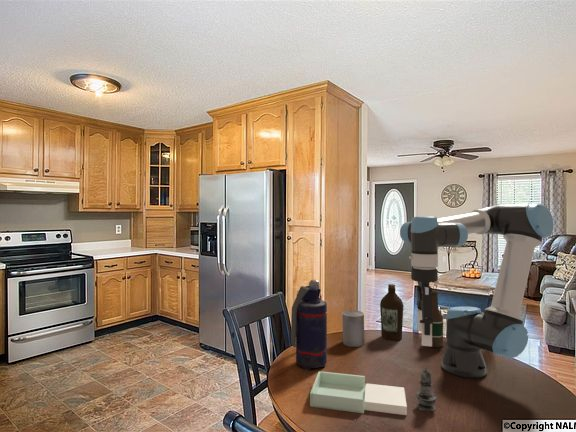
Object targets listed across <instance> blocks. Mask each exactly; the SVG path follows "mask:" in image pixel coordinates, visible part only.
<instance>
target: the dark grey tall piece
mask: <svg viewBox="0 0 576 432" xmlns="http://www.w3.org/2000/svg"><path fill="white" fill-rule="evenodd" d="M420 379H421V380H420V381H419V384H420V389H419V391H417V392H415V395H416V399H417V402H418V403H417V405H416V408H418V410H420V411H422V412H426V413H432V412H433V413H434V412H435V411H437V410H436V409H437V408H436V406H435V403H436V400H437V397H438V396H437V395H436V394H435V393H433V391H432V385H433V382H432V372H431V371H429V370H428V367H425V368H424V369H423V370H421V374H420Z"/></svg>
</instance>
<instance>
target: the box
mask: <svg viewBox="0 0 576 432" xmlns="http://www.w3.org/2000/svg"><path fill="white" fill-rule="evenodd" d="M365 382H366V377H365V375H357V374H351V373H350V374H349V373H341V372H340V373H339V372H330V371H320V370H319V371H318V372H317V375H316V377H315V381H314V382H313V385H312V388H311V390H310V393H309V398H310V399H309V407H311V408H320V409H326V410H335V411H341V412H342V411H343V412H350V413H358V414H365V410H364V401H365V388H366V383H365Z"/></svg>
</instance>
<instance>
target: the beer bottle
mask: <svg viewBox="0 0 576 432" xmlns="http://www.w3.org/2000/svg"><path fill="white" fill-rule="evenodd" d="M438 296H439V291H437V290H435V289H432V314H433V323H432V346H430V347H431V348H441V347H443V346H444V319H443V318H444V317H443V314H442V312H441V311H440V307H439V298H438ZM427 319H429V318H427Z"/></svg>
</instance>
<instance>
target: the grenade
mask: <svg viewBox="0 0 576 432" xmlns="http://www.w3.org/2000/svg"><path fill="white" fill-rule="evenodd" d="M299 287H300V288H299V289H298V291H297V292H296V296H295V299H294V301H293V304H292V307H291V319H290V320H291V321H290V326H291V327H290V345H291V346H292V347H293V348H295V349H296V350H295V363H296V364H297V365H299V366H301V367H302V369H303V370H306V371H310V370H311V369H318V368H325V366H326V364H327V363H328V361H327V359H328V357H327V354H328V351H327V349H328V344H327V343H328V341H327V340H328V336H327V335H328V330H327V329H328V324H327V323H328V320H327V319H328V318H327V316H328V313H327V312H328V311H327V309H328V308H327V307H328V306H327V305H328V303H327V302H326V301H324V300H322V299H320V300H319V298H320V295H321V291H322V290H321V288H320V289H319V288H316V287H311V286H309V285H306V286H304V285H303V286H302V285H301V286H299Z"/></svg>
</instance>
